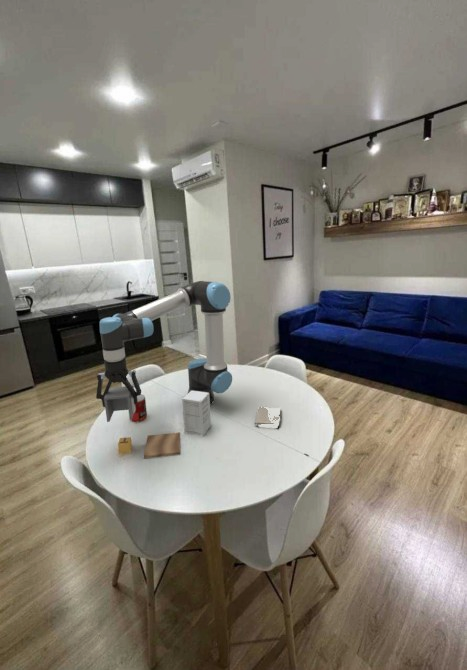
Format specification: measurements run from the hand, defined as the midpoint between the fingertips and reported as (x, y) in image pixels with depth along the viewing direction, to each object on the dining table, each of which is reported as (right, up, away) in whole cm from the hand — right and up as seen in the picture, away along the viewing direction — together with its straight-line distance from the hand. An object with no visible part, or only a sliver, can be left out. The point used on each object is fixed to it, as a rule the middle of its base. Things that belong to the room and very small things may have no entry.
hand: (121, 412), depth 119 cm
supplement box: (+28, -13, +19) cm, 36 cm away
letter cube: (0, -17, +4) cm, 17 cm away
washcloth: (+61, -11, +27) cm, 68 cm away
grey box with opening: (0, -1, 0) cm, 1 cm away
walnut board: (+15, -16, +7) cm, 23 cm away
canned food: (-2, -10, +29) cm, 30 cm away
